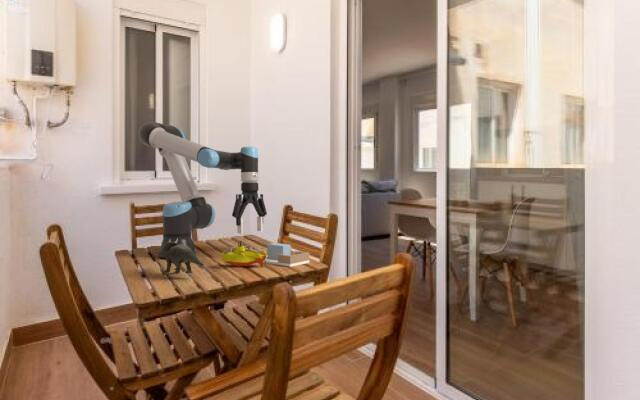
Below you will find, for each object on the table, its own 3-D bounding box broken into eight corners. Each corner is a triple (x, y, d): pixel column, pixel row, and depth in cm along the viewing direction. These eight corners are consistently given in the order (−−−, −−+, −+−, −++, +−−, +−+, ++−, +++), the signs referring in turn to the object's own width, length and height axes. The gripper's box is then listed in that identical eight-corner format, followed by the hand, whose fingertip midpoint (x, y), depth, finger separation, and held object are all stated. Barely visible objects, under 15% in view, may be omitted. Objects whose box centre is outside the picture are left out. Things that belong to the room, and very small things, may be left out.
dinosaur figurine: (206, 274, 132) (206, 242, 132) (184, 279, 126) (183, 244, 125) (175, 266, 146) (175, 237, 146) (153, 270, 140) (153, 239, 140)
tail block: (267, 258, 159) (267, 244, 159) (275, 257, 163) (275, 243, 162) (282, 260, 153) (282, 245, 153) (290, 259, 157) (290, 244, 157)
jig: (228, 256, 169) (228, 247, 169) (248, 253, 178) (248, 245, 178) (290, 266, 146) (290, 256, 146) (309, 262, 155) (309, 252, 155)
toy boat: (262, 269, 143) (262, 242, 142) (218, 267, 146) (217, 241, 146) (268, 265, 149) (268, 240, 149) (225, 264, 153) (225, 239, 152)
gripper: (234, 181, 157) (234, 234, 158) (274, 182, 175) (275, 230, 176) (222, 181, 162) (223, 233, 162) (263, 182, 180) (263, 229, 180)
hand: (250, 232), depth 169 cm, fingers open, 11 cm apart
